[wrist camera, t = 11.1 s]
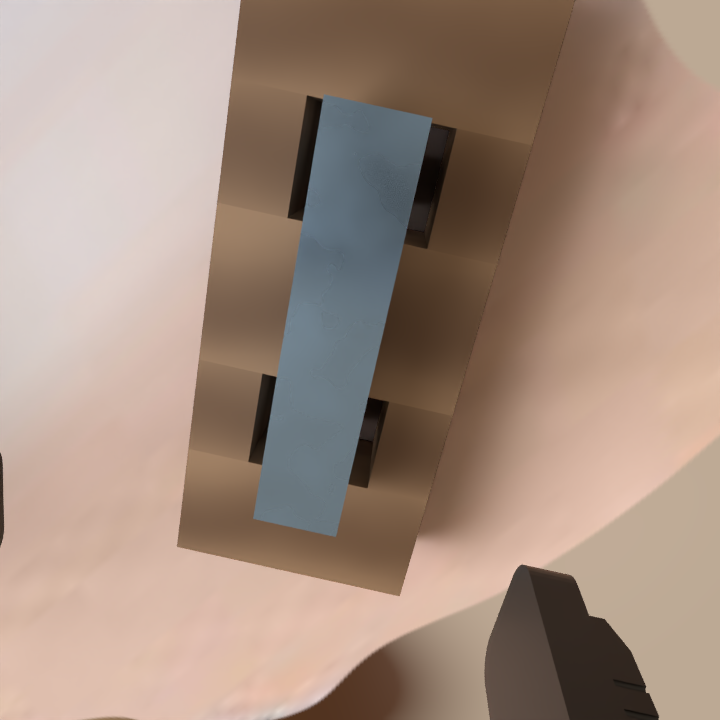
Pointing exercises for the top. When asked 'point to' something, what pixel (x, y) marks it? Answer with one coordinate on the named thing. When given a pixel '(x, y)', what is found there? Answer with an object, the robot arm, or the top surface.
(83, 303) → the top surface
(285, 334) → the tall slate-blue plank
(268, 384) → the socket block
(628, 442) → the top surface
